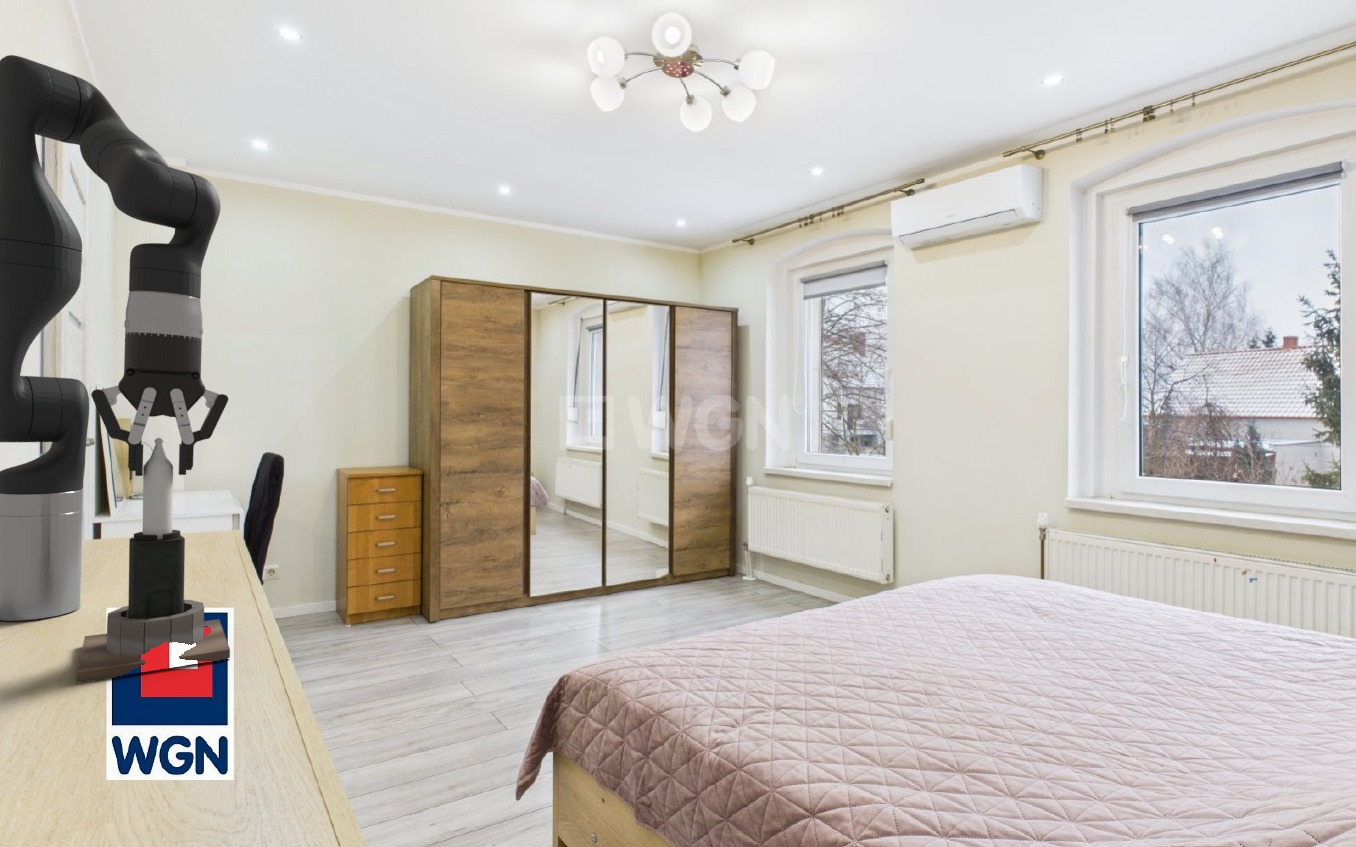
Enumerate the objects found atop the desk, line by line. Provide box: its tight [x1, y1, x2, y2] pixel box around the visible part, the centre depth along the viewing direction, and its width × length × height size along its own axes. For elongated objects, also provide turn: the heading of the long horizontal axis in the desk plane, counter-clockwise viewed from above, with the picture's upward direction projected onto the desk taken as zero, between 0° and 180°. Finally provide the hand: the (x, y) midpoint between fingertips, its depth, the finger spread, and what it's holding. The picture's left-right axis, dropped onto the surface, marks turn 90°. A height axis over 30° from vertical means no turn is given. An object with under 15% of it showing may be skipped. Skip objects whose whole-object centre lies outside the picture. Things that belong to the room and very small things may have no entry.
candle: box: [127, 437, 186, 619], centre depth 86 cm, size 5×5×25 cm
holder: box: [76, 599, 231, 684], centre depth 86 cm, size 14×14×5 cm
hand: (160, 474), depth 85 cm, fingers open, 3 cm apart
